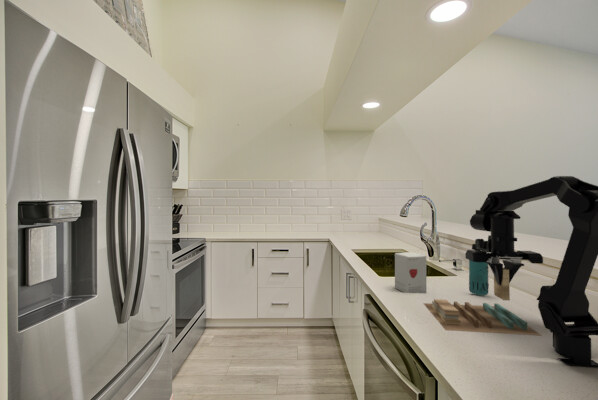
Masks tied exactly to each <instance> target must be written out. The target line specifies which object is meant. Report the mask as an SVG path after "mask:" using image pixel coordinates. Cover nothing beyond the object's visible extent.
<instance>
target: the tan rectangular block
mask: <svg viewBox="0 0 598 400" xmlns="http://www.w3.org/2000/svg"><path fill="white" fill-rule="evenodd" d="M510 293H511V292H510V283H509V270H508V269H505V268H504V267H503V273H502V283H501V285H498V284H497V281H496V279H495V276H494V275H493V294H494V296H495V297H498V298H499V299H501V300H503V301H508V302H509V301H510V295H511V294H510Z"/></svg>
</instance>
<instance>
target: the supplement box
mask: <svg viewBox="0 0 598 400" xmlns="http://www.w3.org/2000/svg"><path fill="white" fill-rule="evenodd" d="M394 288H395V289H397V290H398V291H400V292H403V293H405V294H406V293H407V294H426V293H427V255H425V254H422V253H418V252H416V251H415V252H414V251H408V252H407V251H406V252H404V251H403V252H395V253H394Z"/></svg>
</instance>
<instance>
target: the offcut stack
mask: <svg viewBox="0 0 598 400" xmlns="http://www.w3.org/2000/svg"><path fill="white" fill-rule="evenodd" d="M431 304H432V309H433V310H434V311H435V312H436V313H437V314H438V316H439V317H440V318H441V319H442V320H443V321H444V322H445V324H458V325H461V320H460V319H459V318H458V315H459V311H458V310H457V309H456V308H455V307H454V306H453V305H454V304H453V305H452V303H451V302H450V301H448V300H447V299H442V298H441V299H439V298H438V299H437V298H436V299H435V298H434V299H433V300H432V303H431Z"/></svg>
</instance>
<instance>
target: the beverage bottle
mask: <svg viewBox="0 0 598 400" xmlns="http://www.w3.org/2000/svg"><path fill="white" fill-rule="evenodd" d="M471 250H481V251H482V249H476V247H475V243H472V245H471ZM489 268H490V266H489V265H488V264H487V263H485V262H473V261H471V260H468V271H469V272H468V273H469V275H468V291H469V292H470V294H471V293H472V294H473V295H474V294H475V295H480V296H486V295H489V288H490V286H489V285H490V284H489V280H490V277H489Z"/></svg>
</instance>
